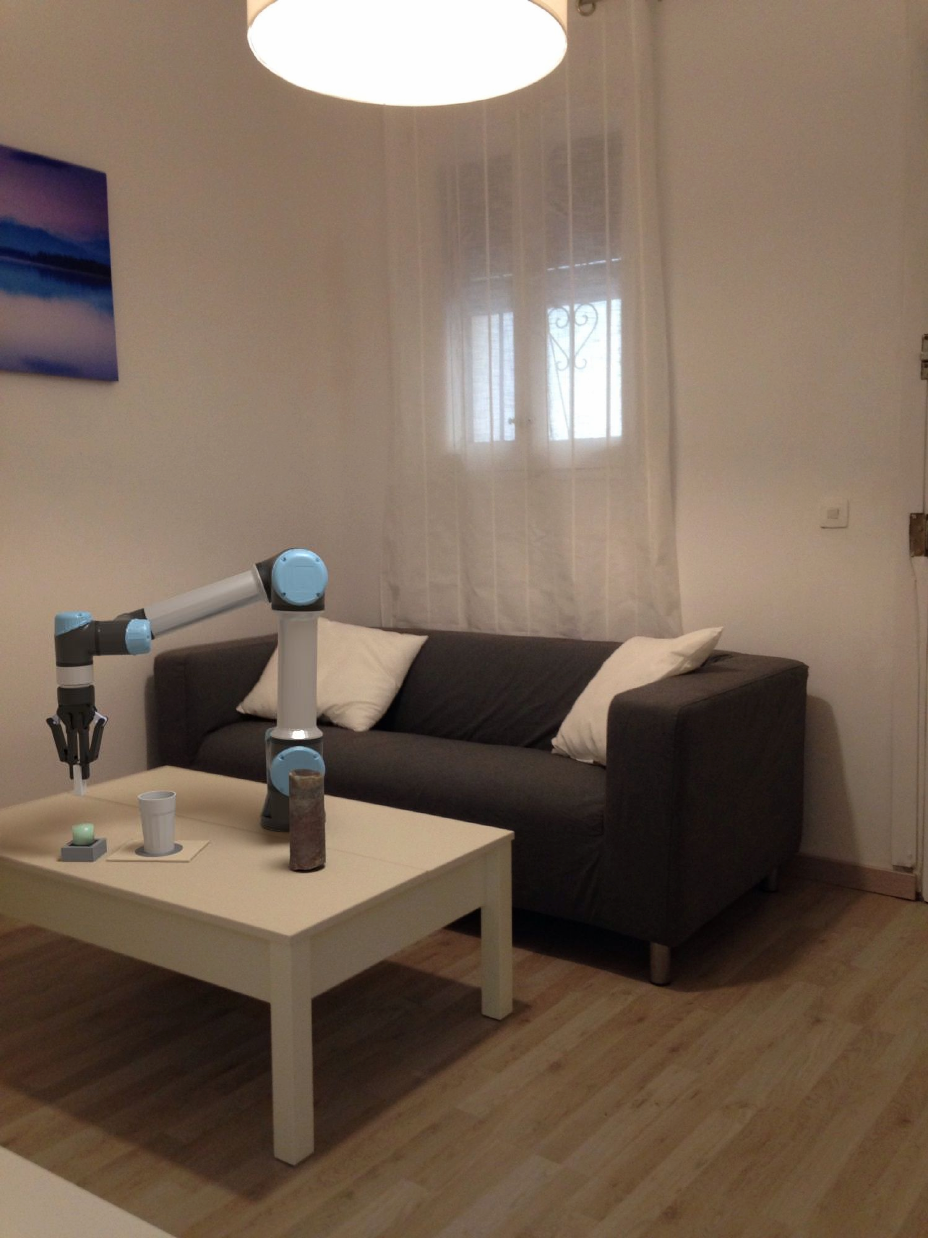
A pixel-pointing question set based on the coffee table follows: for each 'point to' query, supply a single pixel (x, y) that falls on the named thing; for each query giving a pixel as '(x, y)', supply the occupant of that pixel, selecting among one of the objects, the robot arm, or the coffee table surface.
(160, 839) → the cup
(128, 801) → the coffee table surface
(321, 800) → the brown tall cylinder
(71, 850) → the button housing
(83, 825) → the button
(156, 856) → the sheet
